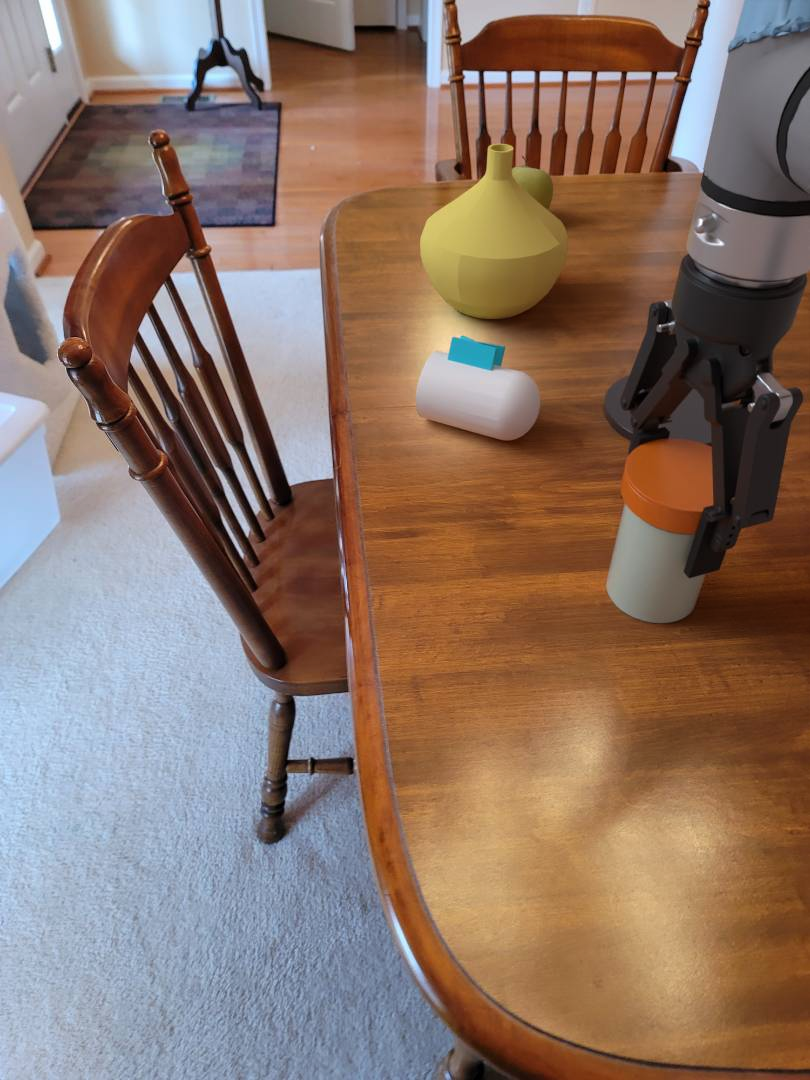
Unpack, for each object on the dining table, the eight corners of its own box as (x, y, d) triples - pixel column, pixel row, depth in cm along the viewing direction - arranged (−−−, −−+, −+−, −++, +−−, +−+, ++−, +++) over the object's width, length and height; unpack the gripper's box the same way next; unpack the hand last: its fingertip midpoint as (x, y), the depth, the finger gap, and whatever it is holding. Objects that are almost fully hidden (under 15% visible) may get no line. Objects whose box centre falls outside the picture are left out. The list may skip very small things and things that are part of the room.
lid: (724, 548, 60) (733, 525, 58) (606, 513, 63) (611, 490, 61) (746, 479, 66) (754, 456, 64) (637, 449, 68) (642, 427, 67)
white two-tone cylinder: (540, 362, 79) (426, 334, 83) (519, 453, 83) (410, 422, 86) (570, 352, 89) (467, 327, 93) (550, 433, 93) (451, 406, 97)
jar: (702, 572, 73) (739, 464, 65) (689, 634, 68) (727, 525, 60) (616, 549, 75) (641, 442, 67) (597, 607, 70) (621, 499, 62)
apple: (522, 233, 122) (516, 159, 117) (493, 230, 128) (487, 160, 124) (566, 223, 125) (563, 150, 120) (536, 220, 131) (531, 151, 127)
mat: (742, 394, 93) (745, 386, 92) (727, 466, 84) (730, 458, 83) (618, 368, 97) (619, 361, 96) (590, 435, 88) (591, 427, 87)
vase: (553, 270, 115) (571, 122, 102) (567, 337, 102) (591, 178, 89) (420, 269, 116) (422, 121, 103) (418, 336, 103) (419, 176, 89)
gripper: (605, 205, 58) (563, 463, 73) (811, 359, 43) (704, 641, 59) (698, 191, 59) (638, 445, 75) (926, 334, 45) (793, 614, 60)
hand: (667, 531), depth 67 cm, fingers closed on lid, 9 cm apart
